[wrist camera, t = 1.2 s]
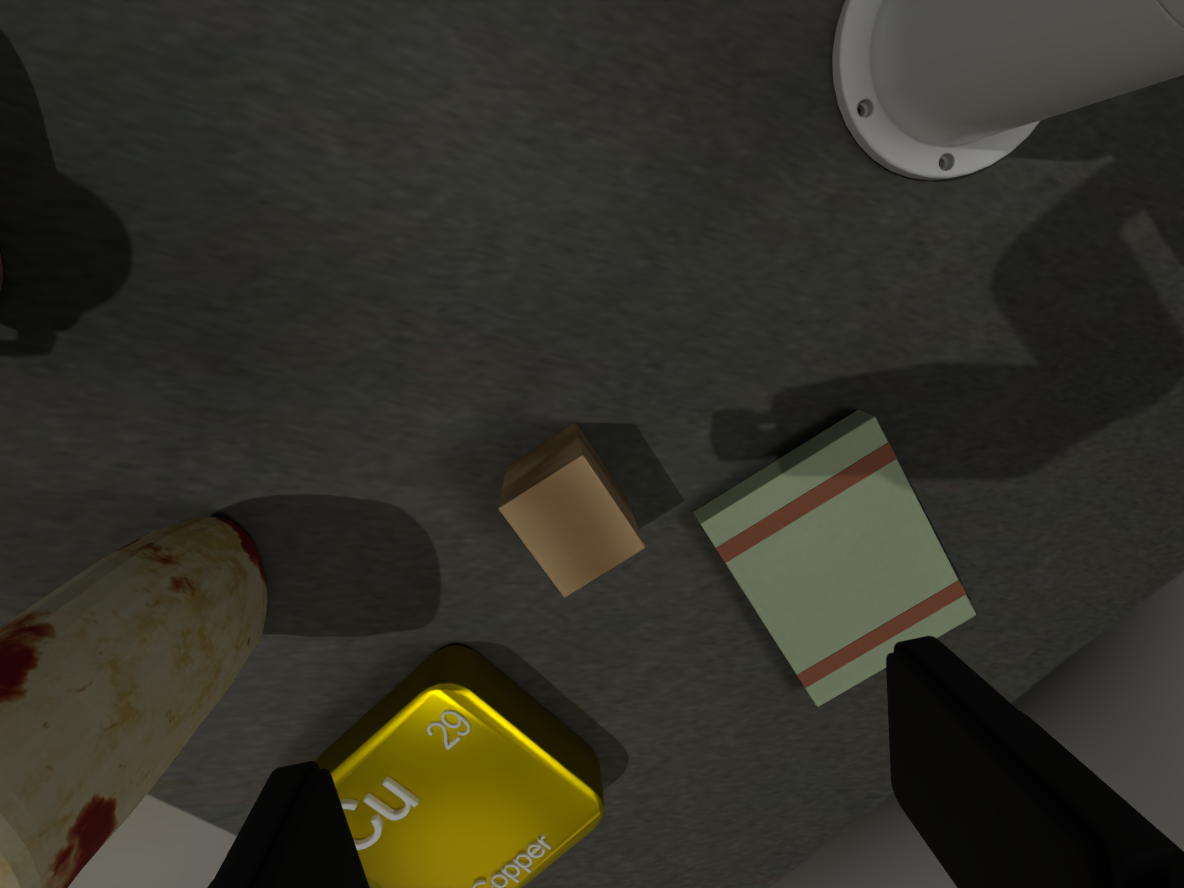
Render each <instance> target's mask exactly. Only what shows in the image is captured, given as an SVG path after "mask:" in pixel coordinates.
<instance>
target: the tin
mask: <svg viewBox="0 0 1184 888" xmlns="http://www.w3.org/2000/svg"><path fill="white" fill-rule="evenodd" d="M2 282H3V264H2V257H1V253H0V293H1V289H2Z"/></svg>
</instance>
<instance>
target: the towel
mask: <svg viewBox="0 0 1184 888" xmlns="http://www.w3.org/2000/svg"><path fill="white" fill-rule="evenodd" d="M693 513H694V515H695V517H696V518H697V520H698V521H699V523H700V524H701V526H702V528H703V529H704V531H705V532H706V534H707V535H708V537H709V538H710V540H711V542H712V543H713V545H714V546H715V548H716V549H717V551H718V553H719V554H720V556H721V557H722V559H723V560H724V562H725V564H726V565H727V567H728V568H729V570H730V571H731V573H732V574H733V576H734V578H735V579H736V581H737V582H738V584H739V585H740V587H741V589H742V590H743V592H744V593H745V595H746V596H747V598H748V600H749V601H750V603H751V604H752V606H753V607H754V609H755V610H756V612H757V614H758V615H759V617H760V618H761V620H762V621H763V623H764V625H765V626H766V628H767V629H768V631H769V632H770V634H771V636H772V637H773V639H774V640H775V642H776V643H777V645H778V646H779V648H780V650H781V651H782V653H783V654H784V656H785V657H786V659H787V661H788V662H789V664H790V665H791V667H792V668H793V670H794V672H795V673H796V675H797V676H798V678H799V679H800V681H801V682H802V684H803V686H804V687H805V689H806V690H807V692H808V693H809V695H810V697H811V698H812V700H813V701H814V703H815V704H816V706H817V707H819V706H820V705H822V704H824V703H825V702H827V701H829V700H831V699H832V698H834V697H836V696H837V695H839V694H841V693H843V692H844V691H846V690H848V689H850V688H851V687H853V686H855V685H856V684H858V683H860V682H862V681H863V680H865V679H867V678H868V677H870V676H872V675H874V674H875V673H877V672H879V671H881V670H882V669H884V668H886V657H887V655H888V654H889V653H893V652H894V646H895V644H896V643H898V642H901V641H905V640H910V639H915V638H920V637H925V636H933V637H935V638H937V637H939V636H941V635H943V634H944V633H946V632H948V631H949V630H951V629H953V628H955V627H956V626H958V625H960V624H962V623H963V622H965V621H967V620H968V619H970V618H972V617H974V616H975V615H976V613H975V611H974V609H973V607H972V606H971V604H970V602H969V600H968V598H967V596H966V592H965V590H964V588H963V586H962V584H961V583H960V581H959V580H958V578H957V576H956V574H955V572H954V570H953V568H952V566H951V564H950V562H949V560H948V559H947V557H946V555H945V553H944V551H943V549H942V547H941V545H940V543H939V541H938V539H937V537H936V535H935V533H934V531H933V529H932V527H931V525H930V523H929V521H928V519H927V517H926V515H925V513H924V511H923V510H922V508H921V506H920V504H919V502H918V500H917V498H916V496H915V494H914V492H913V490H912V488H911V486H910V484H909V482H908V480H907V478H906V476H905V474H904V472H903V470H902V468H901V466H900V464H899V463H898V461H897V457H896V455H895V453H894V451H893V449H892V447H891V445H890V443H889V442H888V441H887V439H886V437H885V435H884V433H883V431H882V429H881V427H880V425H879V423H878V421H877V419H876V417H875V416H872V415H870V414H868V413H865V412H863V411H860V410H857V411H855V412H854V413H852V414H850V415H849V416H847V417H846V418H844V419H842V420H841V421H839V422H838V423H836V424H834V425H833V426H831V427H829V428H828V429H826V430H825V431H823V432H821V433H820V434H818V435H817V436H815V437H813V438H812V439H810V440H809V441H807V442H805V443H804V444H802V445H800V446H799V447H797V448H796V449H794V450H792V451H791V452H789V453H788V454H786V455H784V456H783V457H781V458H779V459H778V460H776V461H775V462H773V463H771V464H770V465H768V466H767V467H765V468H763V469H762V470H760V471H759V472H757V473H755V474H754V475H752V476H750V477H749V478H747V479H746V480H744V481H742V482H741V483H739V484H738V485H736V486H734V487H733V488H731V489H729V490H728V491H726V492H725V493H723V494H721V495H720V496H718V497H717V498H715V499H713V500H712V501H710V502H708V503H707V504H705V505H704V506H702V507H700V508H699V509H697V510H696V511H694V512H693Z"/></svg>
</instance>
